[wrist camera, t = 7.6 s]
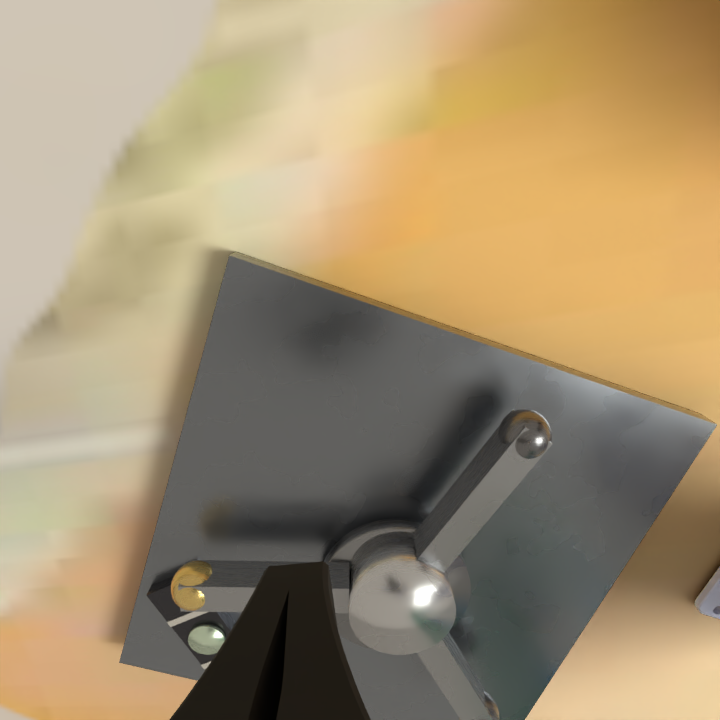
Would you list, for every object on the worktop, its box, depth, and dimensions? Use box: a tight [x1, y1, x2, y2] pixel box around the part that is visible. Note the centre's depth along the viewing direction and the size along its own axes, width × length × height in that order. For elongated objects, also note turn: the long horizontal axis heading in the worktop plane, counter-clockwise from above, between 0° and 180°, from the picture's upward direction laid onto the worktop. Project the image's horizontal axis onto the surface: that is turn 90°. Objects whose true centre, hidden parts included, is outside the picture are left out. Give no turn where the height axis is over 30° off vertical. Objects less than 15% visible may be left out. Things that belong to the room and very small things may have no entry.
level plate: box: [119, 252, 717, 720], centre depth 22 cm, size 20×20×2 cm
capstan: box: [171, 409, 553, 720], centre depth 20 cm, size 16×14×3 cm
